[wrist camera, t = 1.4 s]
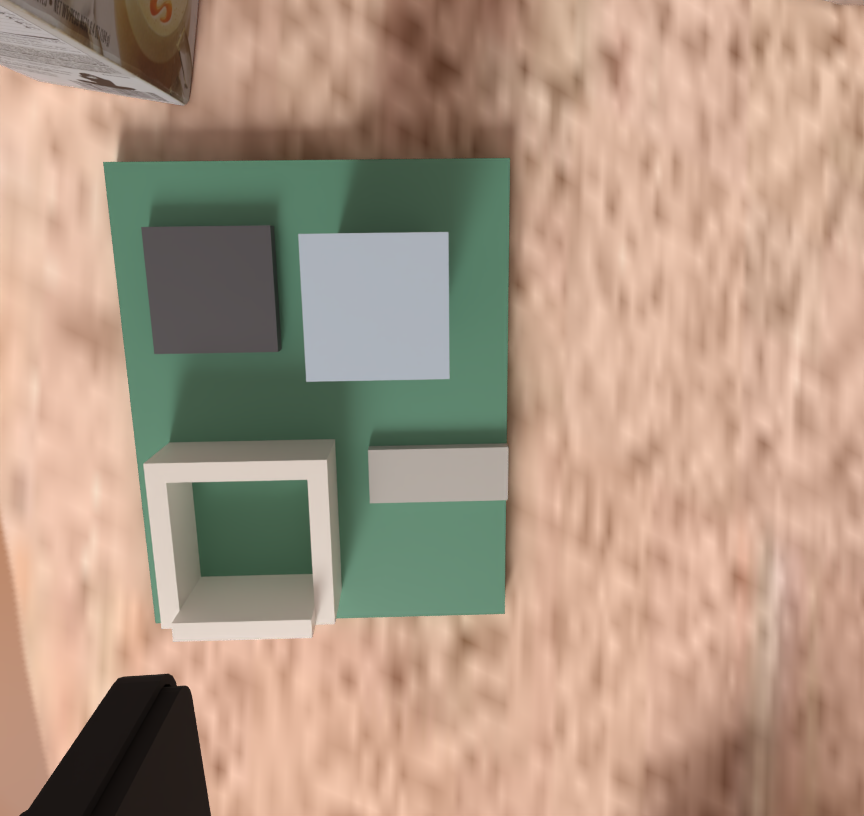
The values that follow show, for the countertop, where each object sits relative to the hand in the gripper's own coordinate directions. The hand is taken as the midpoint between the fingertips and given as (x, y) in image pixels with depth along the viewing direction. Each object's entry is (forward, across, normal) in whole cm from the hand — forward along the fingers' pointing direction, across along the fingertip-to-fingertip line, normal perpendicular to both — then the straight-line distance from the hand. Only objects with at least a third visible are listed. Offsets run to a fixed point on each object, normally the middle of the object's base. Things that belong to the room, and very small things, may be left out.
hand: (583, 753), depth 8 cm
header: (+22, +9, +5) cm, 25 cm away
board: (+23, +6, +1) cm, 24 cm away
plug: (+22, +3, -4) cm, 23 cm away
